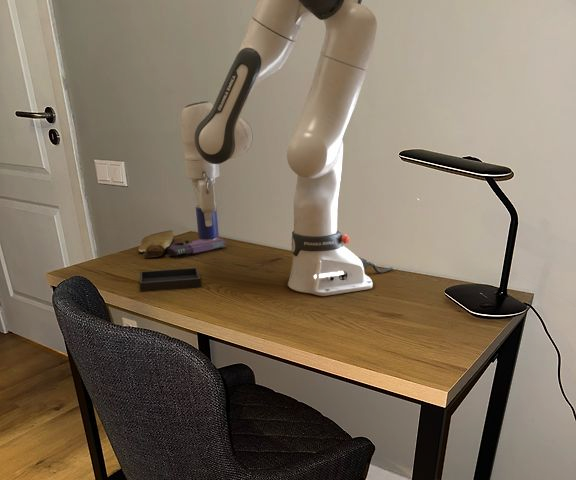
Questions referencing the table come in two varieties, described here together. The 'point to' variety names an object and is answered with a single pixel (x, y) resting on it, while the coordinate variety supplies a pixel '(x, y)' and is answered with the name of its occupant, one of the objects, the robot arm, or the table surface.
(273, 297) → the table surface
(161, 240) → the stone tool
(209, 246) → the toy gun
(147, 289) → the tray
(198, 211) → the can
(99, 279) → the table surface
